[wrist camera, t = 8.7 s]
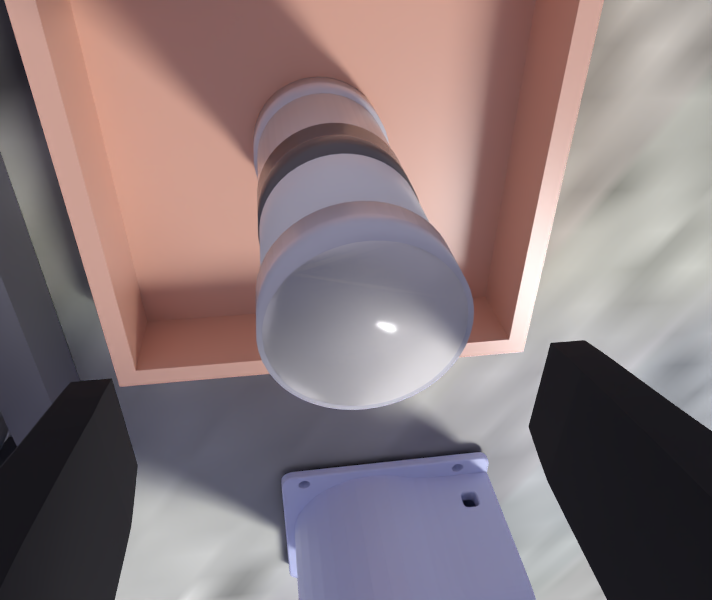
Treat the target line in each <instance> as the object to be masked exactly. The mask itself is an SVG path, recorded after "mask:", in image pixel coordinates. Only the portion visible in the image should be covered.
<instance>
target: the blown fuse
mask: <svg viewBox="0 0 712 600" xmlns="http://www.w3.org/2000/svg"><path fill="white" fill-rule="evenodd" d="M253 151H254V166H255V172H256V175H257V178H258V187H257V212H258V239H259V245H260V269H259V272H258V276H257V281H256V341H257V346H258V351H259V354H260V357H261V359H262V362H263V364H264V365H265V367H266V369H267V371H268V372H269V373H270V375H271V376H272V377H273V378H274V380H275V381H276V382H277V383H279V384H280V385H281V386H282V387H283V388H284V389H286V390H287V391H288V392H290V393H291V394H293V395H295V396H297V397H298V398H300V399H302V400H304V401H307V402H310V403H312V404H315V405H319V406H323V407H327V408H334V409H343V410H360V409H370V408H377V407H381V406H386V405H390V404H393V403H396V402H399V401H402V400H404V399H406V398H409V397H411V396H413V395H415V394H417V393H419V392H421V391H422V390H424V389H426V388H427V387H429V386H430V385H432V384H433V383H434V382H436V381H437V380H438V379H439V378H440V377H442V376H443V375H444V374H445V373H446V372H447V371H448V370H449V369H450V368H451V367H452V366H453V364H454V363H455V362H456V360H457V359H458V358H459V356H460V355H461V353H462V351H463V350H464V348H465V346H466V344H467V342H468V339H469V337H470V334H471V330H472V326H473V319H474V304H473V298H472V294H471V290H470V288H469V285H468V283H467V281H466V279H465V277H464V275H463V273H462V271H461V269H460V267H459V266H458V264H457V262H456V260H455V258H454V256H453V254H452V253H451V251H450V249H449V247H448V245H447V243H446V242H445V240H444V239H443V237H442V236H441V234H440V233H439V232H438V231H437V230H436V229H435V228H434V226H433V225H432V224H430V222H429V221H428V219H427V217H426V215H425V213H424V211H423V209H422V207H421V205H420V203H419V200H418V197H417V195H416V193H415V191H414V189H413V187H412V185H411V183H410V181H409V179H408V177H407V175H406V173H405V171H404V169H403V168H402V166H401V164H400V162H399V160H398V158H397V156H396V155H395V153H394V152H393V150H392V149H391V147H390V145H389V141H388V137H387V134H386V130H385V128H384V126H383V124H382V122H381V120H380V118H379V116H378V114H377V113H376V111H375V109H374V107H373V106H372V104H371V103H370V101H369V100H368V99H367V98H366V97H365V95H363V94H362V93H361V92H360V91H359V90H358V89H356V88H355V87H353V86H352V85H350V84H348V83H346V82H344V81H341V80H338V79H335V78H329V77H308V78H303V79H299V80H297V81H294V82H291V83H289V84H288V85H286V86H284V87H282V88H281V89H280V90H278V91H277V92H276V93H275V94H274V95H273V96H271V97H270V98H269V100H268V101H267V102H266V104H265V105H264V106H263V108H262V110H261V111H260V113H259V116H258V118H257V121H256V124H255V128H254V136H253Z"/></svg>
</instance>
